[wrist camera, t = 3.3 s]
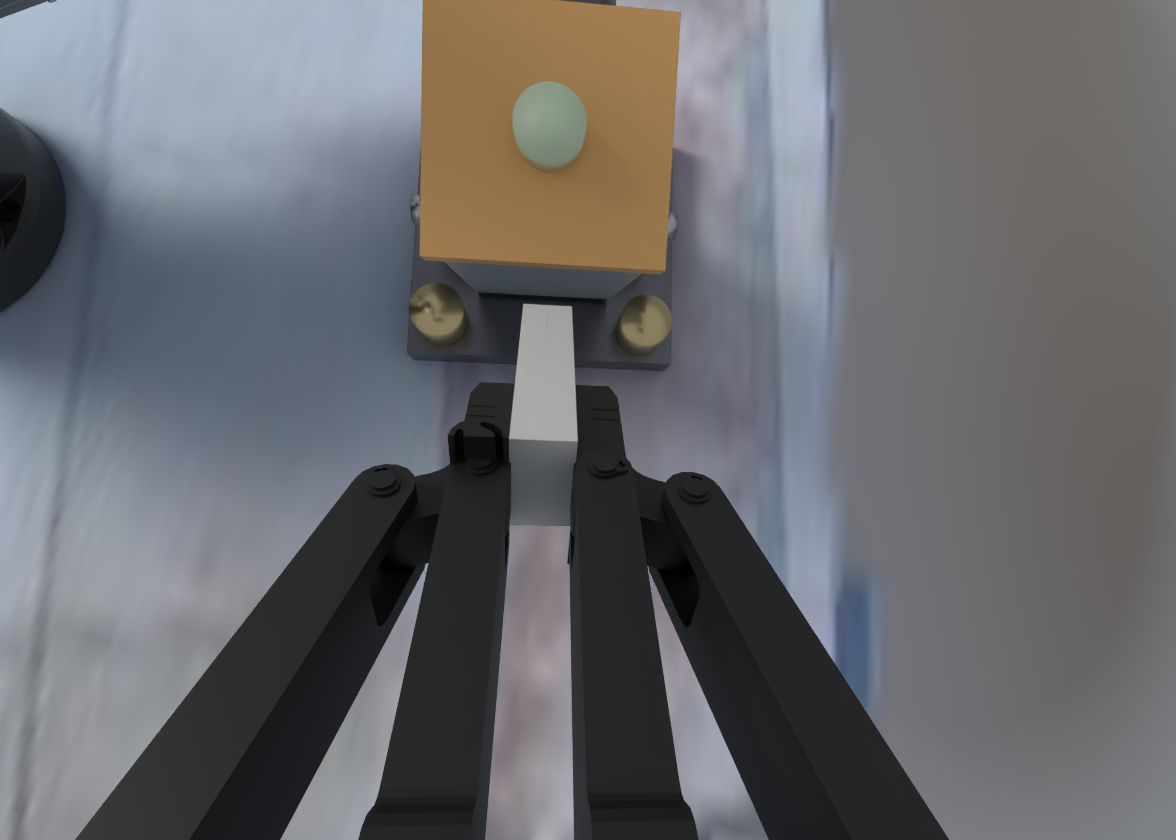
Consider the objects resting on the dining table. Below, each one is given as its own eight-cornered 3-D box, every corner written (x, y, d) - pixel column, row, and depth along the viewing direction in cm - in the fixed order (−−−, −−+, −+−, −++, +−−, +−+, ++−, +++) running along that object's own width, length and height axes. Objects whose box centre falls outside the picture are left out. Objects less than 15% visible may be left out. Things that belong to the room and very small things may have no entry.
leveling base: (663, 370, 38) (697, 338, 30) (414, 359, 36) (379, 322, 28) (665, 143, 40) (697, 56, 32) (429, 125, 38) (401, 29, 30)
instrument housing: (613, 304, 35) (672, 265, 19) (471, 297, 35) (411, 249, 19) (623, 111, 34) (695, -103, 18) (476, 98, 33) (416, -135, 17)
